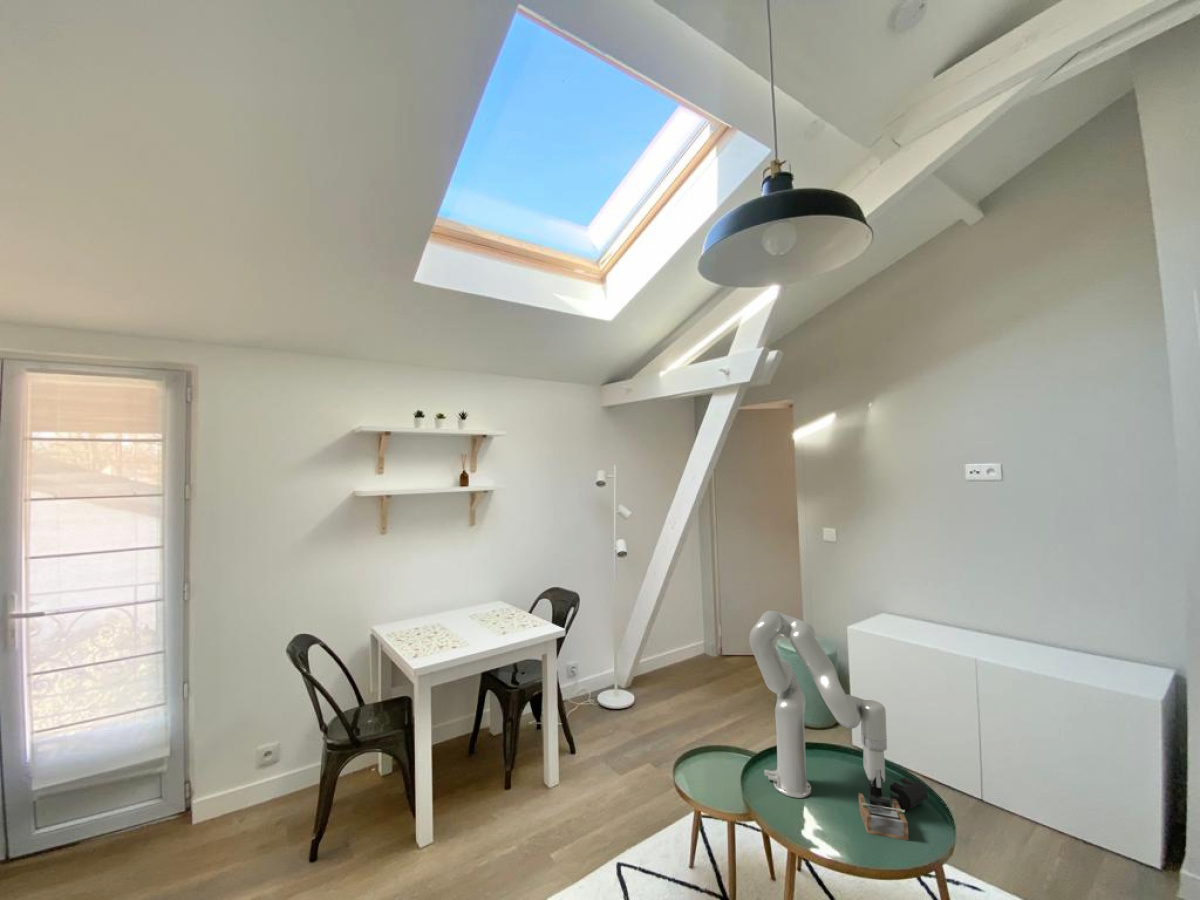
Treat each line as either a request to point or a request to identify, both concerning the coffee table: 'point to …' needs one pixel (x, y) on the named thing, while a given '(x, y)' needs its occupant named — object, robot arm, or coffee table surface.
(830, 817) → the coffee table surface
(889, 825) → the wood and grey box
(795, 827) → the coffee table surface
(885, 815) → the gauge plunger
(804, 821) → the coffee table surface
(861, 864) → the coffee table surface
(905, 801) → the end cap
